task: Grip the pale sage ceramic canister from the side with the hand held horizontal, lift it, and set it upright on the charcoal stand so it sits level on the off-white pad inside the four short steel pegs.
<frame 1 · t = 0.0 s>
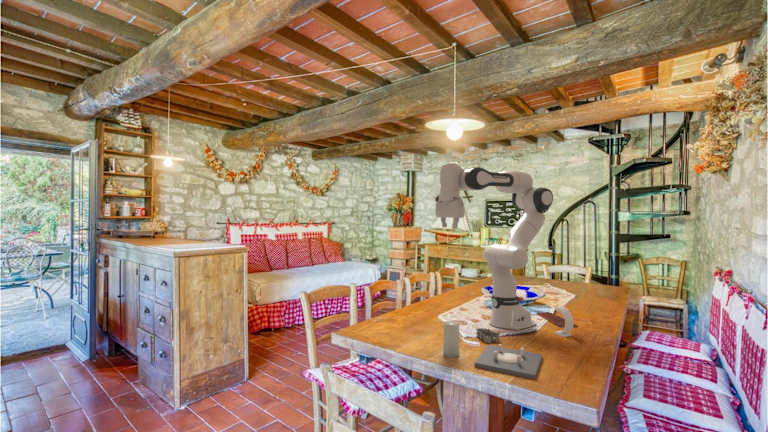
hand: (449, 227, 167), 48 cm above the table, tool pointing down, fingers open, 8 cm apart
wooden tablet: (555, 320, 186), on the table
peg stand: (509, 362, 133), on the table
headphone stand: (564, 335, 163), on the table
canister: (451, 354, 140), on the table
egg carton: (487, 339, 158), on the table
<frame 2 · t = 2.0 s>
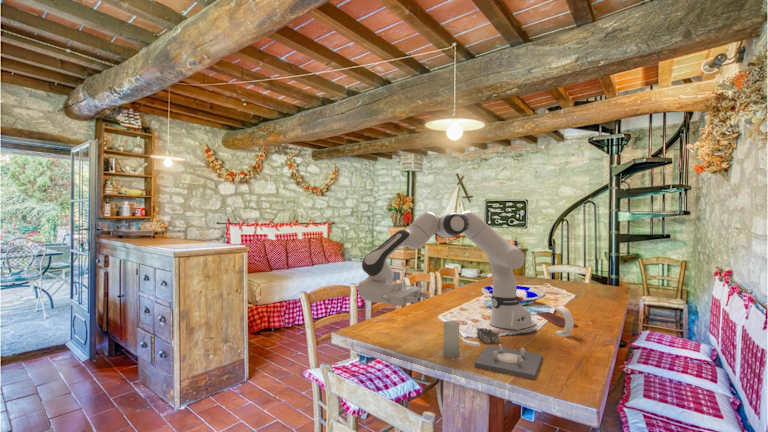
hand: (422, 298, 146), 20 cm above the table, tool horizontal, fingers open, 8 cm apart
nothing on the table moved.
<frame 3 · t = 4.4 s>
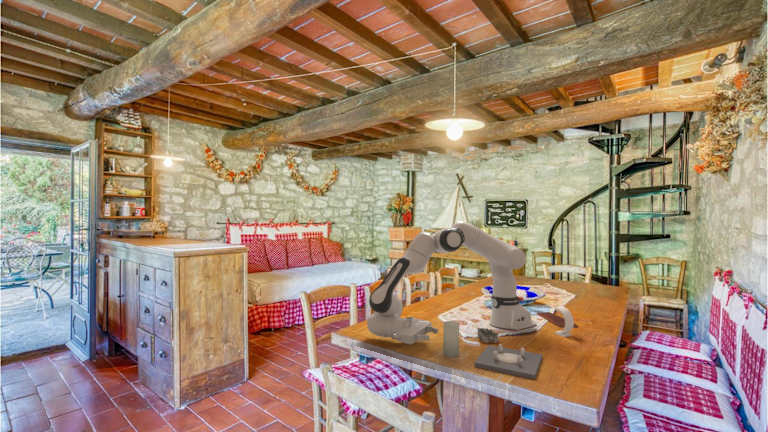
hand: (433, 334, 144), 6 cm above the table, tool horizontal, fingers open, 8 cm apart
nothing on the table moved.
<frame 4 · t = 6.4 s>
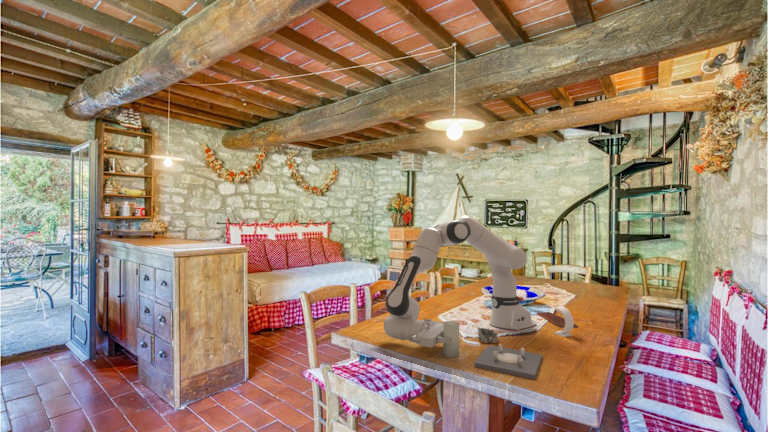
hand: (453, 337, 140), 7 cm above the table, tool horizontal, fingers closed on canister, 6 cm apart
canister: (451, 354, 140), on the table, touching gripper
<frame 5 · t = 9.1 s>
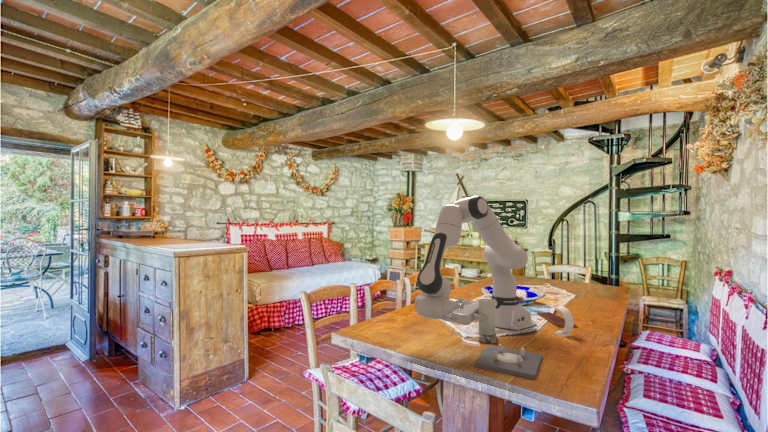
hand: (489, 315, 135), 17 cm above the table, tool horizontal, fingers closed on canister, 6 cm apart
canister: (486, 332, 136), point 10 cm above the table, touching gripper
when the fingers open (10 cm above the table, at t = 11.9 s): canister drops 1 cm, resting on peg stand.
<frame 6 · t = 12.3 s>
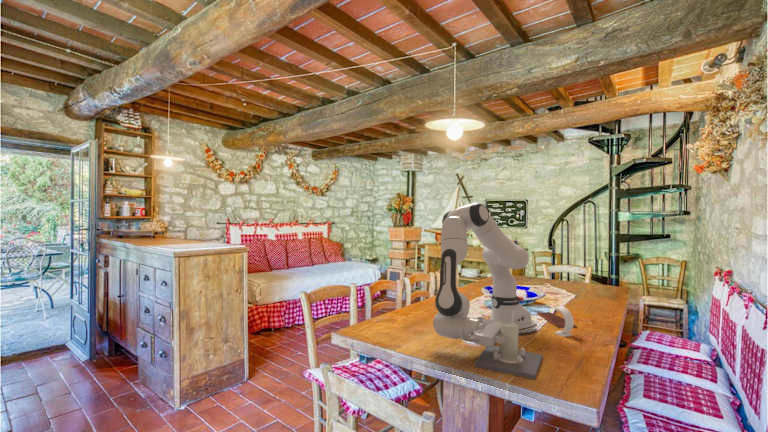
hand: (511, 336, 132), 10 cm above the table, tool horizontal, fingers open, 8 cm apart
canister: (509, 357, 133), point 2 cm above the table, touching peg stand
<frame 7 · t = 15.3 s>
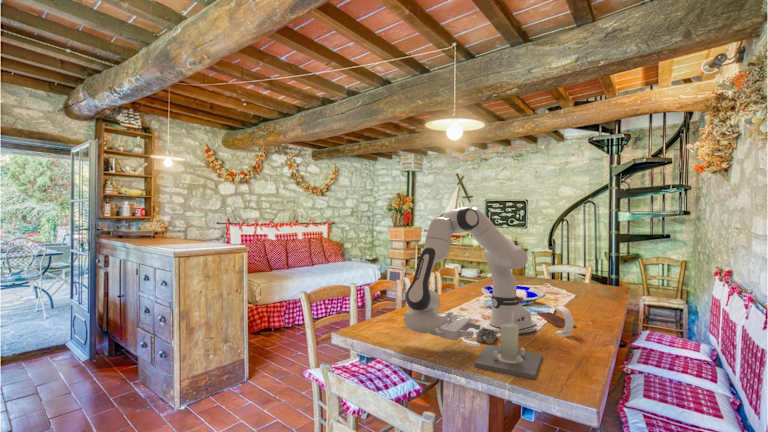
hand: (476, 330, 139), 10 cm above the table, tool horizontal, fingers open, 8 cm apart
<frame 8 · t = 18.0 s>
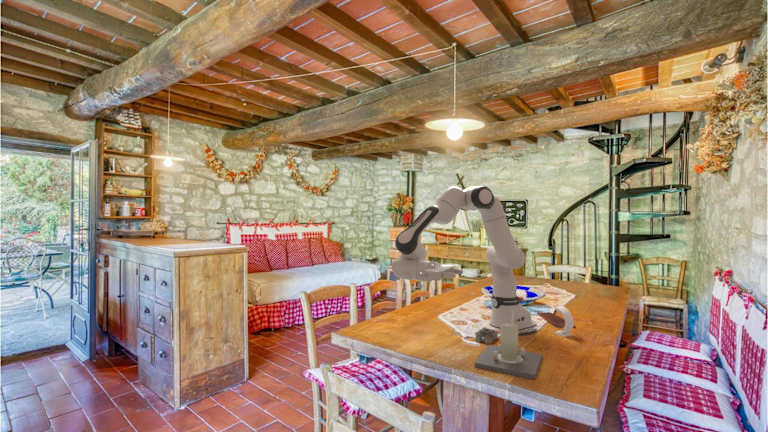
hand: (458, 273, 147), 30 cm above the table, tool horizontal, fingers open, 8 cm apart
at the end: canister 0.0 cm off-centre on the peg stand, point 1.7 cm above the peg stand's base; canister tilted 0°; the gripper is holding nothing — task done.
